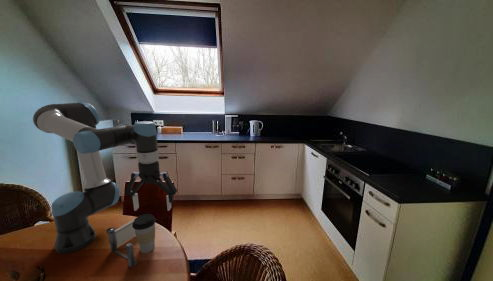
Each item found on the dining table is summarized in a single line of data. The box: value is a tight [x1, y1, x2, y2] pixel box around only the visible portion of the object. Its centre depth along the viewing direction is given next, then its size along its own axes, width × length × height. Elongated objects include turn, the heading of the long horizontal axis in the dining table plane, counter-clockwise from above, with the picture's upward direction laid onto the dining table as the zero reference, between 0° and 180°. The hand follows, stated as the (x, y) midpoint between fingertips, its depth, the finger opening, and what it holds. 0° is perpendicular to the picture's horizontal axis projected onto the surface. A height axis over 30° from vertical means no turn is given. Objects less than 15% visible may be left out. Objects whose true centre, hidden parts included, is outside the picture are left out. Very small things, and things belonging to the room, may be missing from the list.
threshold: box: [114, 250, 138, 265], centre depth 93 cm, size 14×1×1 cm, turn 62°
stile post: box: [125, 242, 136, 268], centre depth 88 cm, size 2×2×10 cm
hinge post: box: [106, 226, 118, 253], centre depth 96 cm, size 3×3×11 cm
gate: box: [114, 218, 136, 248], centre depth 103 cm, size 14×1×8 cm, turn 152°
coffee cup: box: [132, 213, 157, 254], centre depth 97 cm, size 9×9×15 cm
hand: (153, 209), depth 90 cm, fingers open, 13 cm apart
